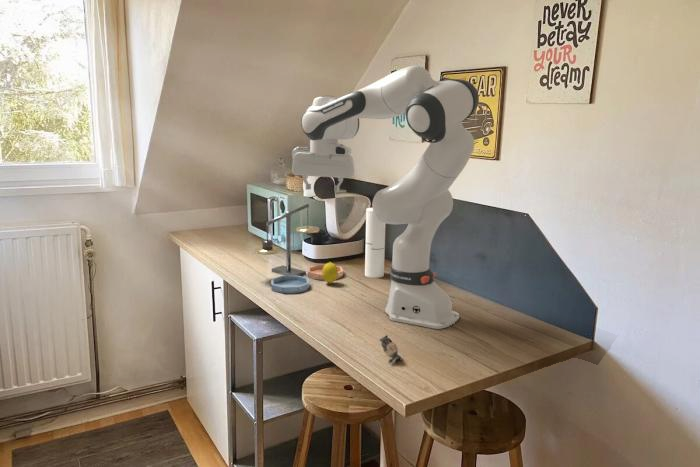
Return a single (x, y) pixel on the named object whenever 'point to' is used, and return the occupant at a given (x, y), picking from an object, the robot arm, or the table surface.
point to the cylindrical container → (374, 246)
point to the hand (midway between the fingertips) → (322, 190)
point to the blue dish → (290, 284)
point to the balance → (270, 249)
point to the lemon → (330, 272)
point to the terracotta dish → (316, 272)
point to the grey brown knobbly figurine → (390, 349)
